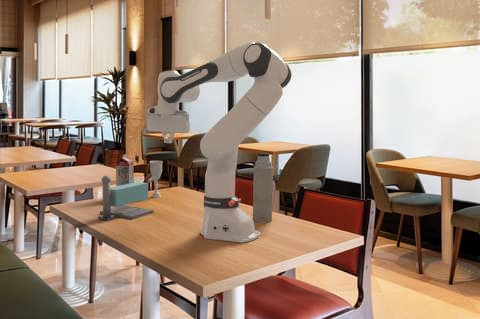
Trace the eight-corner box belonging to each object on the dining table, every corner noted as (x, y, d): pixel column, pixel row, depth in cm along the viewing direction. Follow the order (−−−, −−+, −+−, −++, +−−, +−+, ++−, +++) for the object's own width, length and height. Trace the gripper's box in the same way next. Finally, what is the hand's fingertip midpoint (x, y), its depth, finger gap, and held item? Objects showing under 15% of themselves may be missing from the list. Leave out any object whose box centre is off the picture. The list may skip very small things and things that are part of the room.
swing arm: (109, 217, 194) (108, 176, 192) (98, 215, 197) (97, 175, 195) (148, 206, 215) (147, 169, 213) (137, 205, 218) (137, 168, 216)
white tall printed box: (133, 197, 241) (133, 154, 238) (129, 200, 234) (128, 155, 232) (121, 196, 242) (120, 153, 239) (116, 199, 235) (115, 155, 232)
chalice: (160, 198, 239) (159, 162, 237) (147, 197, 241) (147, 162, 239) (165, 195, 247) (165, 161, 244) (152, 194, 248) (152, 160, 246)
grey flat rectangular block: (153, 212, 209) (153, 209, 209) (131, 219, 197) (131, 216, 197) (122, 207, 218) (122, 204, 218) (99, 213, 206) (99, 210, 205)
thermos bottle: (271, 218, 203) (273, 152, 200) (271, 222, 195) (273, 154, 192) (253, 217, 204) (254, 152, 200) (252, 222, 196) (253, 154, 192)
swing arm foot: (115, 218, 198) (115, 215, 198) (107, 221, 194) (107, 218, 193) (106, 216, 200) (106, 214, 200) (98, 219, 196) (97, 216, 196)
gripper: (193, 110, 198) (192, 143, 199) (154, 109, 208) (154, 141, 209) (184, 110, 192) (183, 145, 194) (144, 109, 202) (144, 142, 204)
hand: (168, 142), depth 202 cm, fingers closed
